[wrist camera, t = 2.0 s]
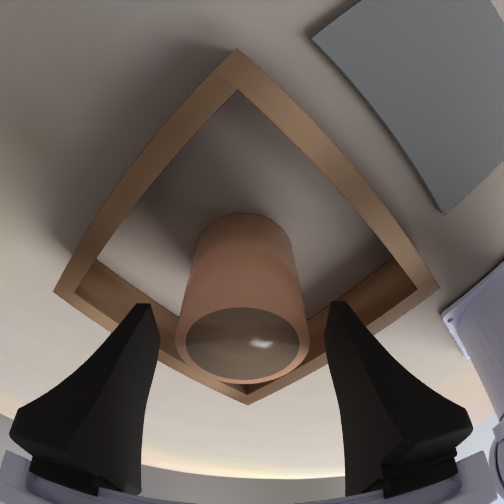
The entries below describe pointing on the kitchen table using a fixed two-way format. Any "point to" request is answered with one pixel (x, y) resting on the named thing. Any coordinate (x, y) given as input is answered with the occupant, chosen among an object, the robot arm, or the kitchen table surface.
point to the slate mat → (429, 83)
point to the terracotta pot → (243, 303)
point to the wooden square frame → (330, 164)
